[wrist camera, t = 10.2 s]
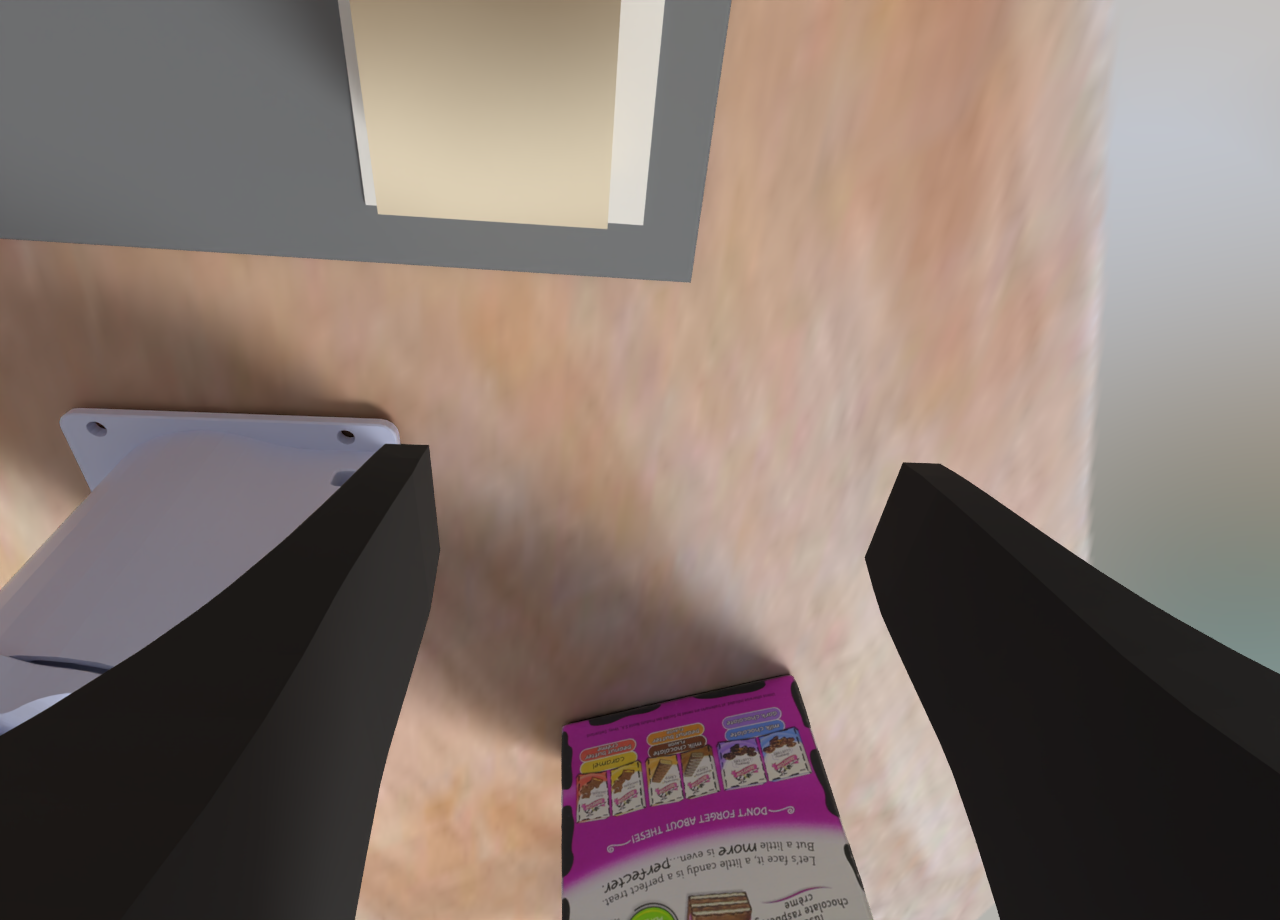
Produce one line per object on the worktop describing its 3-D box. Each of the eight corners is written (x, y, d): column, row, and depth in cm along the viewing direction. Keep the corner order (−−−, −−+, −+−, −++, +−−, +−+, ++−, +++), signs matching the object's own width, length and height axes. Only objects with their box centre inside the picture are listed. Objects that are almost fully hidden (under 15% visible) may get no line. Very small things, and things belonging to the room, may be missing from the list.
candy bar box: (588, 774, 34) (599, 1283, 21) (559, 720, 31) (549, 1274, 18) (806, 729, 33) (962, 1229, 20) (796, 669, 30) (971, 1208, 17)
